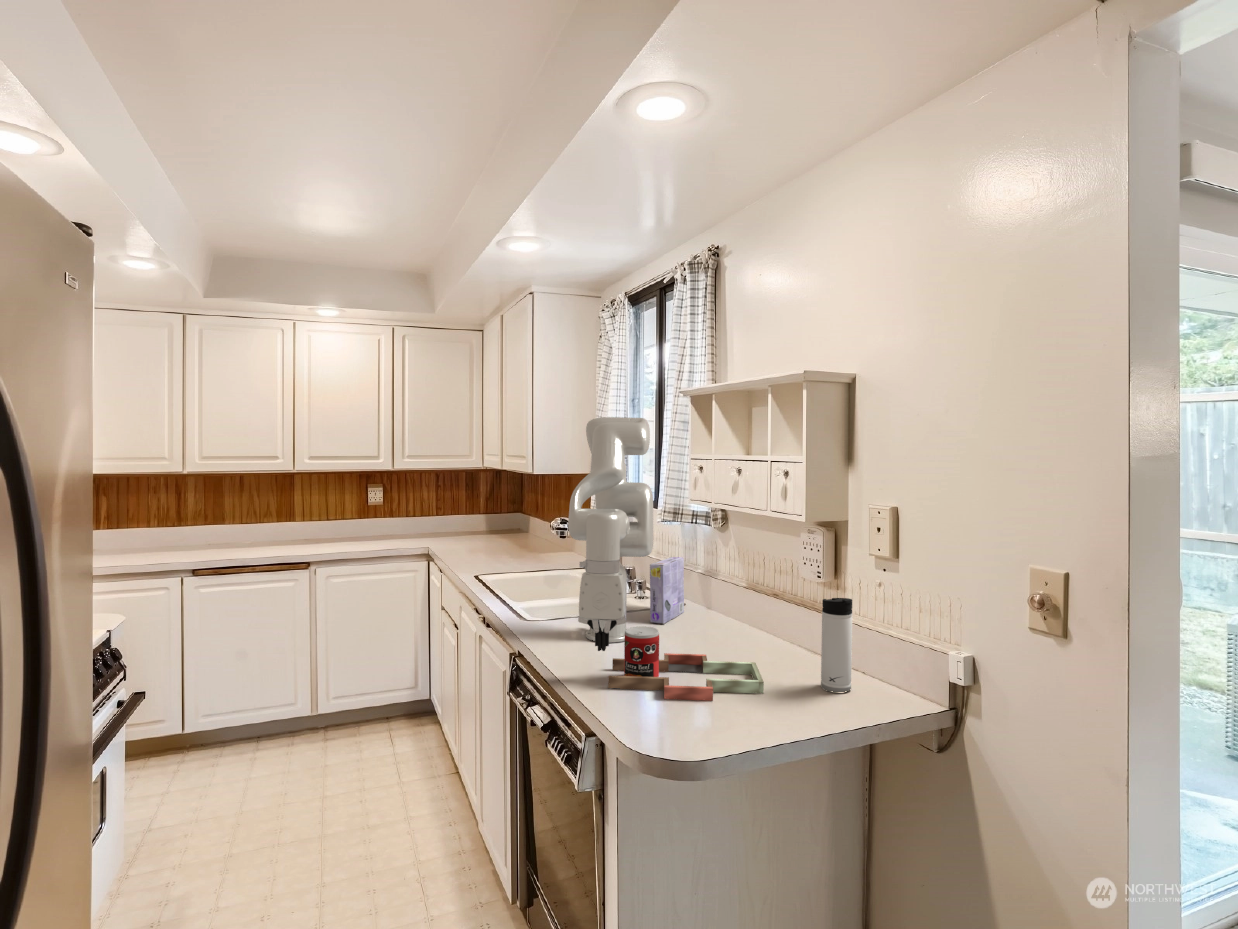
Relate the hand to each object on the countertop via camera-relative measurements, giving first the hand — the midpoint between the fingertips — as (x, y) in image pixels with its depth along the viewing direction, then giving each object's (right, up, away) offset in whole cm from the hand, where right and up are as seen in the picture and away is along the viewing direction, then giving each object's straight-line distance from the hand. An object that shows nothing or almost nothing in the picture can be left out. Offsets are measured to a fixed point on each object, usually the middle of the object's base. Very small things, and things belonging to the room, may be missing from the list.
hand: (601, 649), depth 151 cm
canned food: (+9, -7, 0) cm, 11 cm away
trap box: (+18, -7, 0) cm, 19 cm away
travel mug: (+51, -8, -5) cm, 52 cm away
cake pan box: (+19, -6, +56) cm, 60 cm away
